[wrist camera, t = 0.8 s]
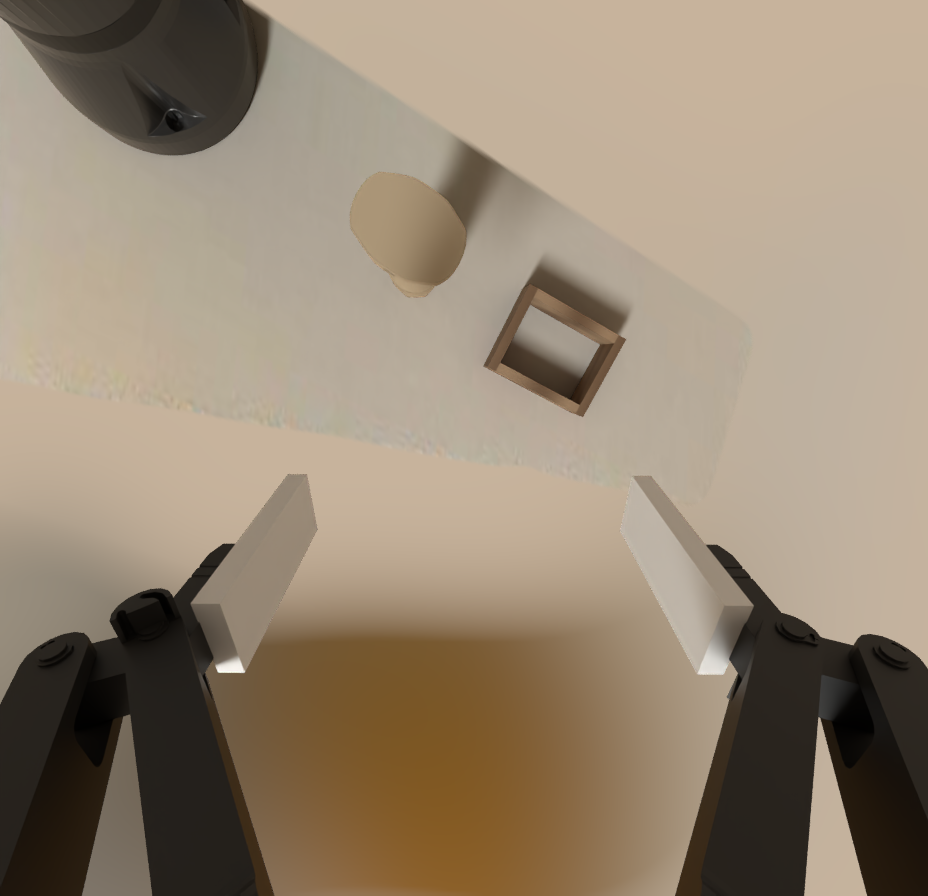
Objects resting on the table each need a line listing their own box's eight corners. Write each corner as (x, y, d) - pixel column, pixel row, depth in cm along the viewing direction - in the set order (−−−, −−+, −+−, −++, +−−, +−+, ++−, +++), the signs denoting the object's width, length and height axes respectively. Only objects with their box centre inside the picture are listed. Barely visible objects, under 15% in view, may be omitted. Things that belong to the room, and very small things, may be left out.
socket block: (483, 366, 39) (488, 366, 36) (522, 289, 38) (530, 283, 35) (571, 412, 41) (582, 416, 38) (611, 340, 40) (626, 339, 37)
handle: (396, 235, 36) (377, 151, 22) (459, 276, 37) (481, 222, 23) (370, 285, 37) (334, 236, 22) (433, 323, 38) (438, 300, 24)
